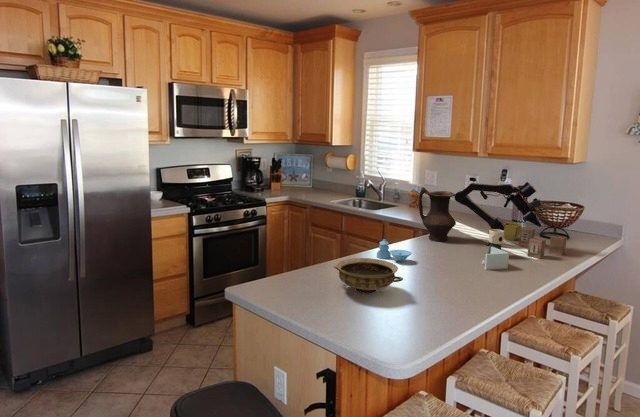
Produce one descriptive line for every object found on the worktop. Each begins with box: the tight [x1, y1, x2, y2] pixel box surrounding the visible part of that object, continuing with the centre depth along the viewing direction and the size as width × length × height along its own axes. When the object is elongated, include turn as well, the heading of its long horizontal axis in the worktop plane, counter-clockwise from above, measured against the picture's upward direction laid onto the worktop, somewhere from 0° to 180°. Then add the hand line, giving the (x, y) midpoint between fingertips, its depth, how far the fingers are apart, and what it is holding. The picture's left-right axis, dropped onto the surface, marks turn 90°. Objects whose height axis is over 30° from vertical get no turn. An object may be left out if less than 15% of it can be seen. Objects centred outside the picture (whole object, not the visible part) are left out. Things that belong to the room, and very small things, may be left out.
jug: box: [418, 186, 457, 242], centre depth 277 cm, size 21×18×30 cm
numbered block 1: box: [518, 227, 536, 247], centre depth 273 cm, size 6×6×9 cm
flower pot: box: [504, 221, 522, 241], centre depth 284 cm, size 9×9×9 cm
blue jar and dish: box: [376, 238, 412, 263], centre depth 234 cm, size 18×10×9 cm, turn 49°
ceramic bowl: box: [333, 257, 404, 295], centre depth 190 cm, size 30×24×10 cm
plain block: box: [548, 234, 568, 257], centre depth 255 cm, size 6×6×9 cm
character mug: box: [487, 228, 505, 254], centre depth 247 cm, size 11×7×13 cm, turn 140°
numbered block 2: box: [527, 237, 547, 260], centre depth 247 cm, size 6×6×9 cm
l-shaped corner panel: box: [481, 247, 510, 271], centre depth 230 cm, size 12×12×8 cm
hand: (540, 226), depth 257 cm, fingers closed
